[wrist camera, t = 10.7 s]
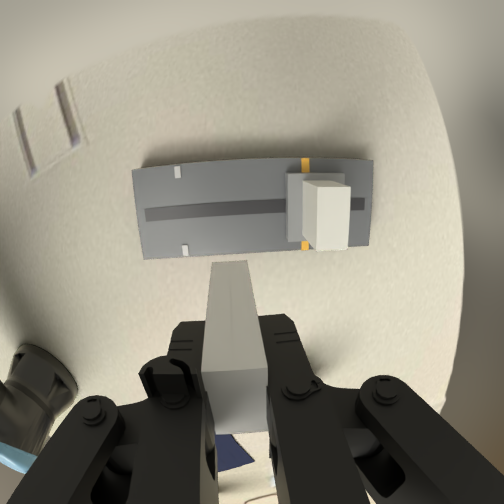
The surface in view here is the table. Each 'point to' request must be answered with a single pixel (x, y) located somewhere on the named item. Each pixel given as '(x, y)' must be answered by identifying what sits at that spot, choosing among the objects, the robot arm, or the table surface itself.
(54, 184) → the table surface
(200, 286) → the table surface
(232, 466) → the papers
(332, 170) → the console
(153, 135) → the table surface
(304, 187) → the fader tab
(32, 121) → the table surface
